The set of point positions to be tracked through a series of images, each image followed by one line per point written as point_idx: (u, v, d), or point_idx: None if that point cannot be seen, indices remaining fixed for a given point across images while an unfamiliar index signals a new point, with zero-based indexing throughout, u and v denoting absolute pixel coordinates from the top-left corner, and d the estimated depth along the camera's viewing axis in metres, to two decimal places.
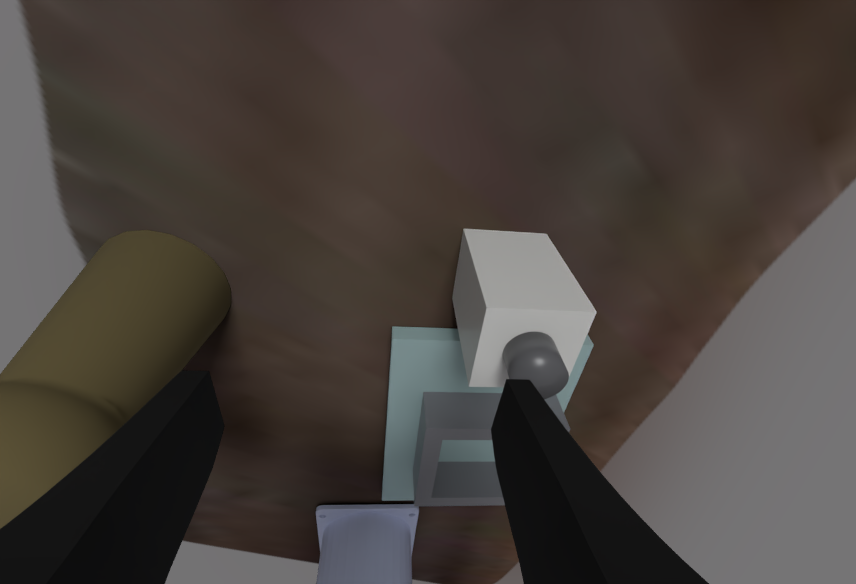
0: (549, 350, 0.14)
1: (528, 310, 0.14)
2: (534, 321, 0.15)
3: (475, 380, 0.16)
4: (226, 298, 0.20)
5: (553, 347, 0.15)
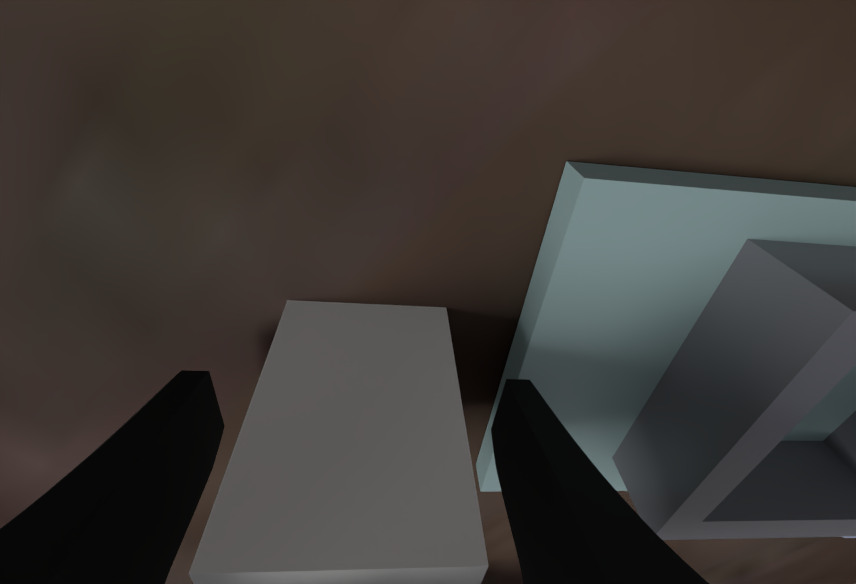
0: None
1: None
2: None
3: None
4: None
5: None
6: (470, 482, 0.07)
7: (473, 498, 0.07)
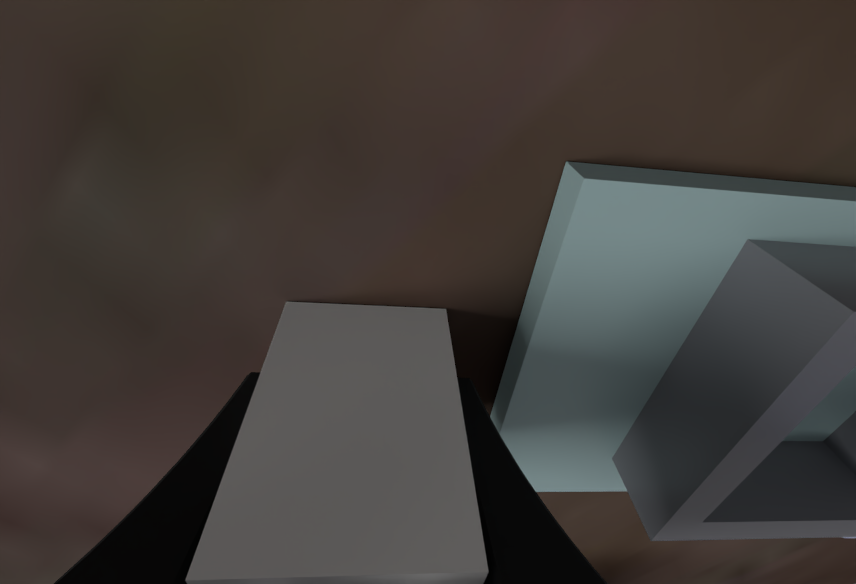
0: None
1: None
2: None
3: None
4: None
5: None
6: (470, 486, 0.07)
7: (473, 502, 0.07)
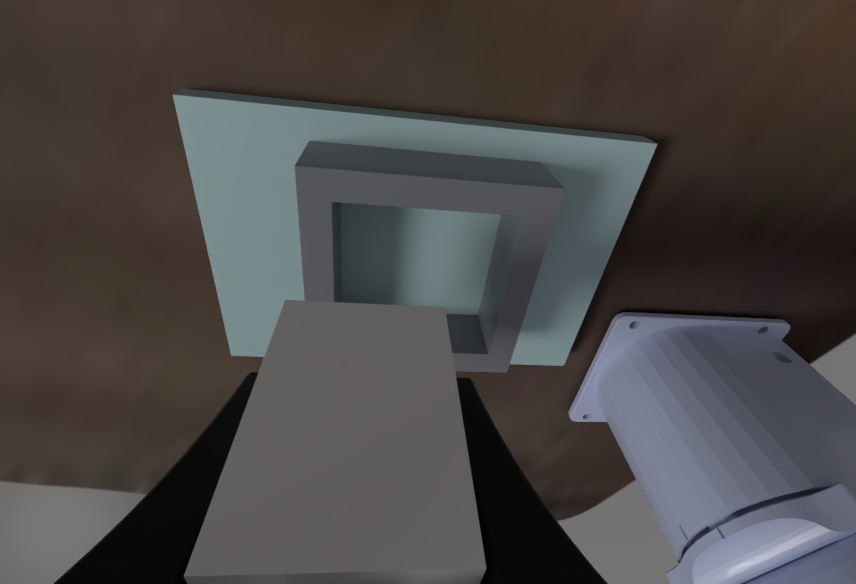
0: None
1: None
2: None
3: None
4: None
5: None
6: (467, 484, 0.07)
7: (471, 500, 0.07)
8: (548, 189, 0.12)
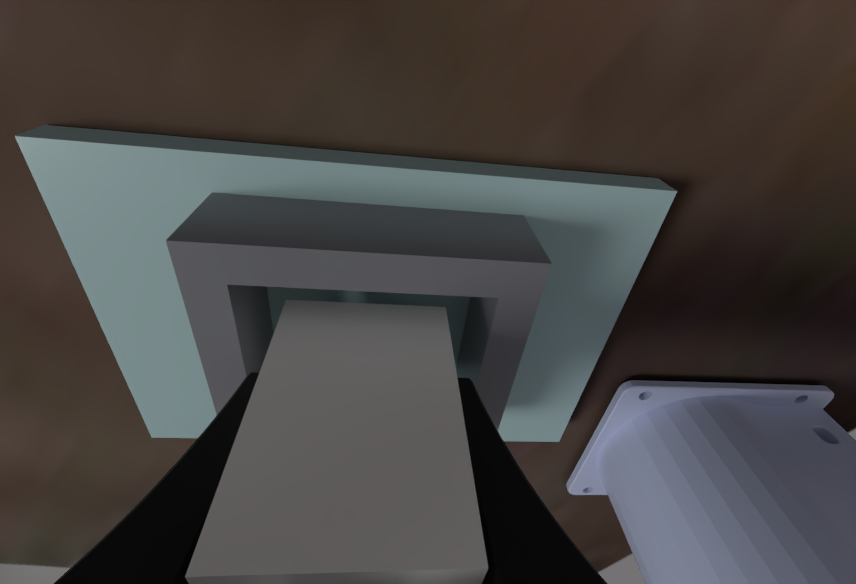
0: None
1: None
2: None
3: None
4: None
5: None
6: (469, 484, 0.07)
7: (473, 499, 0.07)
8: (528, 265, 0.09)
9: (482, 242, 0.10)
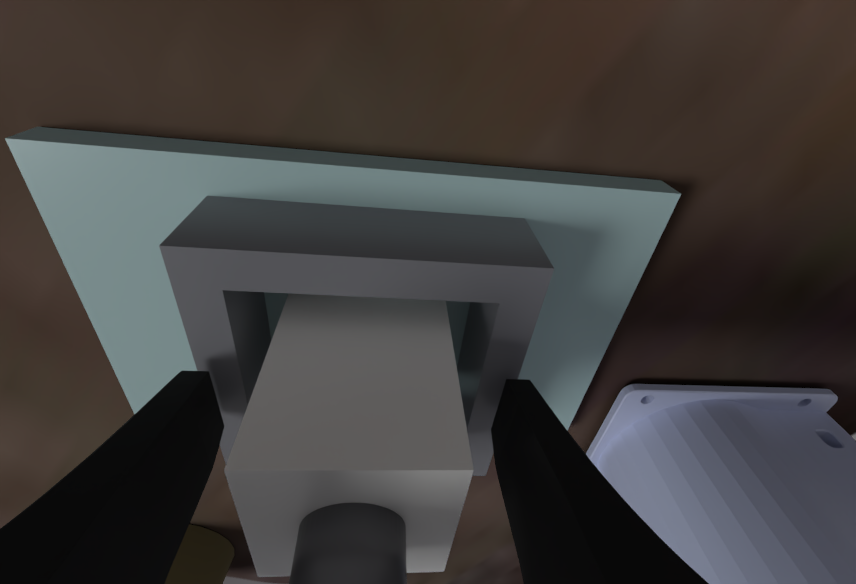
0: None
1: (250, 544, 0.08)
2: (274, 535, 0.08)
3: (428, 567, 0.09)
4: None
5: (298, 558, 0.07)
6: (459, 410, 0.08)
7: (462, 422, 0.08)
8: (530, 269, 0.09)
9: (483, 246, 0.09)
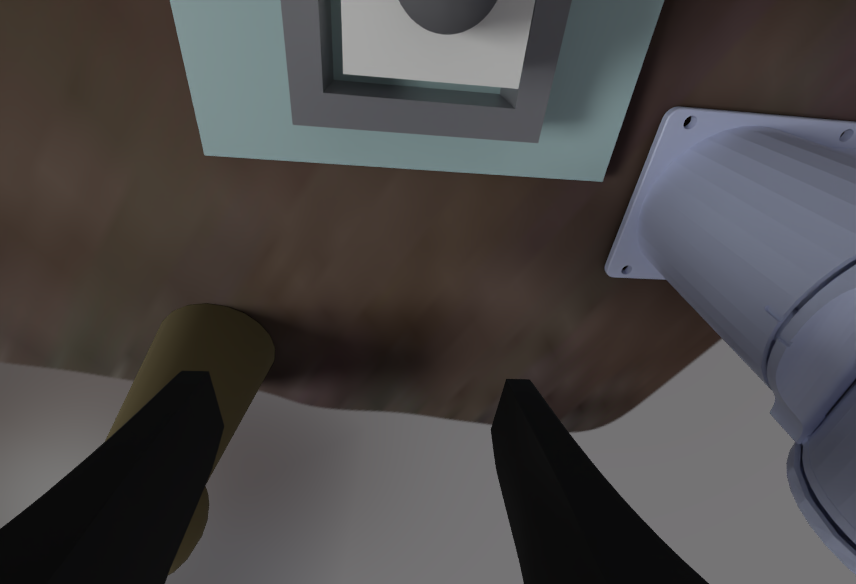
0: None
1: None
2: None
3: (504, 77, 0.09)
4: (207, 311, 0.21)
5: None
6: None
7: None
8: None
9: None
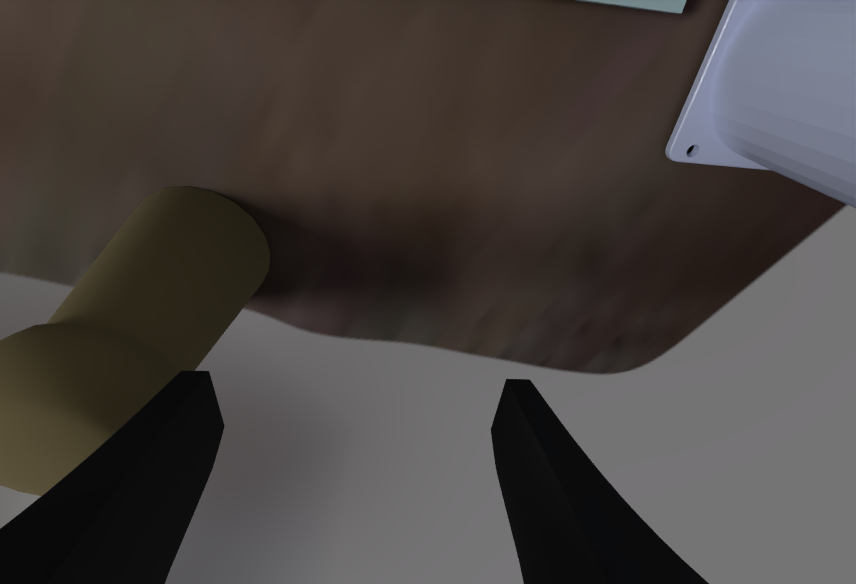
0: None
1: None
2: None
3: None
4: (188, 193, 0.17)
5: None
6: None
7: None
8: None
9: None
